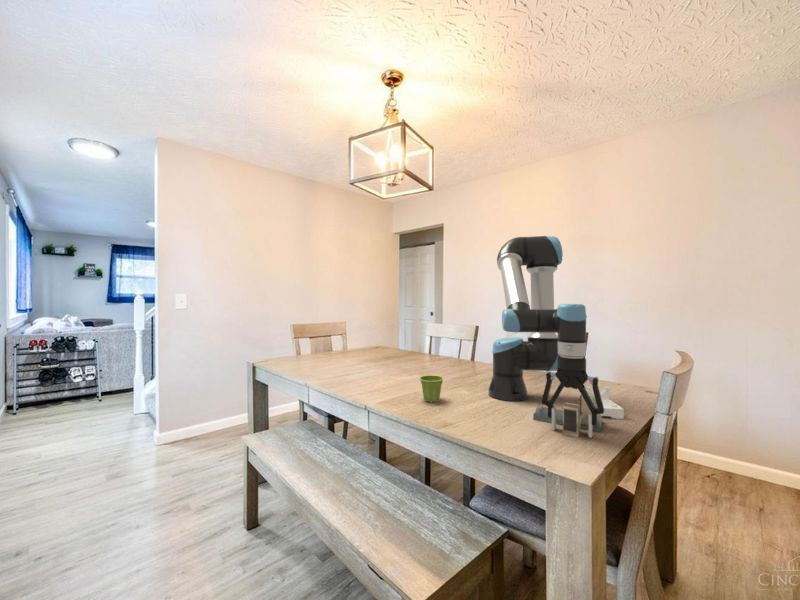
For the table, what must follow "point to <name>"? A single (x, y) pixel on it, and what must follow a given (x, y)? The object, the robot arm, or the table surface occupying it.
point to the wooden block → (571, 419)
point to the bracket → (609, 404)
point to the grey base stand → (542, 414)
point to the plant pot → (431, 387)
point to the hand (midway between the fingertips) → (571, 432)
